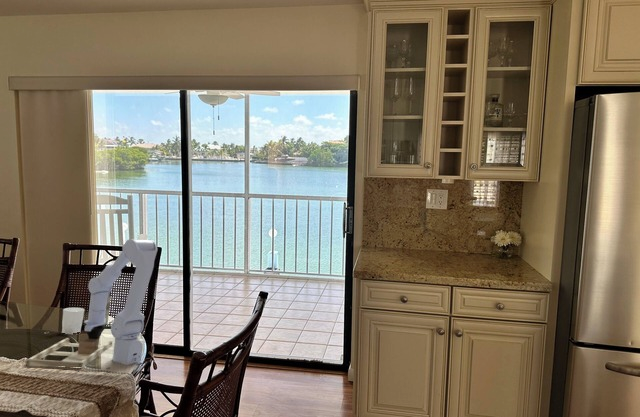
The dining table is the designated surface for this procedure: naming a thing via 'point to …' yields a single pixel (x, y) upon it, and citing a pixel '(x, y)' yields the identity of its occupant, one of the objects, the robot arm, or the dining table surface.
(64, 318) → the white cup
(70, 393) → the dining table surface
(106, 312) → the travel mug
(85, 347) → the block
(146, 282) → the robot arm
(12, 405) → the dining table surface
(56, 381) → the dining table surface
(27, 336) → the dining table surface
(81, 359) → the white compartment tray
